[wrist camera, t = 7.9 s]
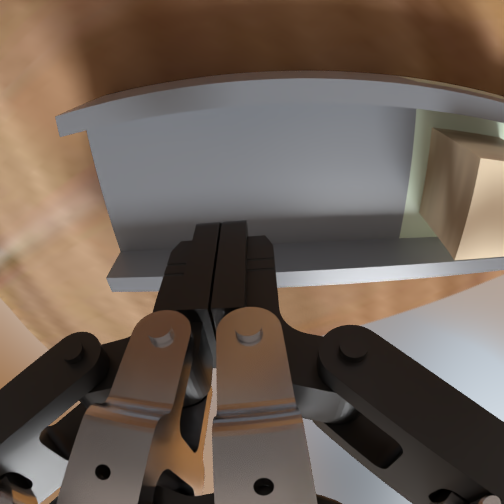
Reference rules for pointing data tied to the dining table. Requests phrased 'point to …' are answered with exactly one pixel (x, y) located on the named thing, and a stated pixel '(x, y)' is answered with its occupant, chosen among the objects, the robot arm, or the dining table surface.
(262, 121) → the channel deck
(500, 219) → the wood block
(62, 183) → the dining table surface
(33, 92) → the dining table surface
